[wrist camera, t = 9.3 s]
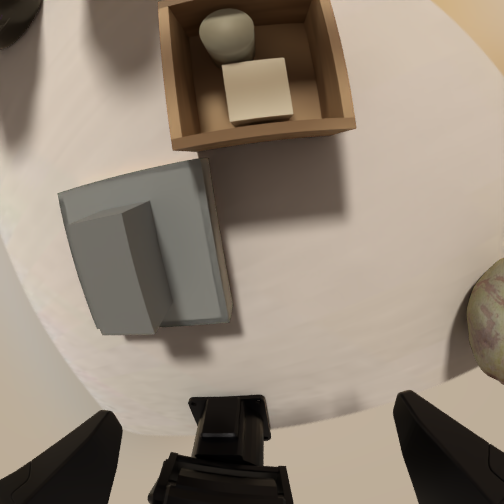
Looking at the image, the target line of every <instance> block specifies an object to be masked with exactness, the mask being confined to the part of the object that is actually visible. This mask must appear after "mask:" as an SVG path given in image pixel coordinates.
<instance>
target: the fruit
mask: <svg viewBox="0 0 504 504" xmlns="http://www.w3.org/2000/svg"><path fill="white" fill-rule="evenodd" d="M467 323H468V332H469V342H470V345H471V348H472V351H473V354H474V356H475V359H476V361H477V363H478V365H479V366H480V368H481V370H482V371H483V372H484V373H485V374H487V375H488V376H490V377H492V378H494V379H496V380H498V381H499V382H501V383H502V384H503V385H504V258H502V259H500V260H499V261H497V262H496V263H495V264H494V265H493V266H492V267H490V268H489V269H488V270H487V271H486V272H485V274H484V275H483V276H482V277H481V278H480V279H479V280H478V282H477V283H476V285H475V286H474V288H473V290H472V294H471V296H470V299H469V303H468V306H467Z"/></svg>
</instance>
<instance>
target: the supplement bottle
mask: <svg viewBox="0 0 504 504" xmlns="http://www.w3.org/2000/svg"><path fill="white" fill-rule="evenodd" d="M40 4H41V0H0V49H3V48H6V47H8V46H10V45H11V44H13V43H14V42H15V41H16V40H17V39H19V38H20V37H21V36H22V34H23V33H24V32H25V31H26V30H27V28H28V27H29V26H30V24H31V23H32V21H33V20H34V18H35V16H36V14H37V12H38V10H39V7H40Z"/></svg>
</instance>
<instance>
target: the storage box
mask: <svg viewBox="0 0 504 504" xmlns="http://www.w3.org/2000/svg"><path fill="white" fill-rule="evenodd" d="M158 17H159V32H160V45H161V57H162V68H163V78H164V87H165V96H166V104H167V112H168V120H169V128H170V135H171V142H172V149H173V151H191V152H199V151H205V150H210V149H216V148H223V147H229V146H236V145H242V144H250V143H257V142H265V141H274V140H283V139H293V138H305V137H317V136H331V135H334V134H338V133H341V132H345V131H349V130H352V129H356V122H355V115H354V108H353V102H352V96H351V90H350V84H349V79H348V74H347V68H346V63H345V59H344V54H343V49H342V45H341V41H340V36H339V32H338V28H337V24H336V20H335V17H334V13H333V9H332V6H331V2H330V0H163V1H160V2H158Z"/></svg>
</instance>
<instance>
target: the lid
mask: <svg viewBox="0 0 504 504" xmlns="http://www.w3.org/2000/svg"><path fill="white" fill-rule="evenodd" d="M58 199H59V204H60V208H61V213H62V218H63V222H64V226H65V231H66V235H67V239H68V242H69V246H70V250H71V254H72V257H73V261H74V264H75V267H76V271H77V274H78V277H79V280H80V283H81V286H82V289H83V292H84V295H85V298H86V301H87V304H88V306H89V309H90V312H91V315H92V317H93V320H94V322H95V325H96V327H97V329H100V331H101V333H102V335H151V334H155V333H156V331H157V330H158V328H159V327H173V326H190V325H205V324H218V323H229V322H230V317H231V312H232V306H233V302H232V297H231V292H230V286H229V281H228V275H227V270H226V264H225V258H224V252H223V247H222V241H221V235H220V229H219V223H218V217H217V211H216V205H215V199H214V192H213V186H212V180H211V173H210V167H209V160H208V158H198V159H193V160H187V161H182V162H177V163H172V164H167V165H163V166H158V167H153V168H149V169H145V170H140V171H136V172H132V173H128V174H124V175H120V176H116V177H112V178H108V179H105V180H101V181H97V182H94V183H90V184H87V185H83V186H80V187H76V188H73V189H70V190H67V191H63V192H60V193H58Z"/></svg>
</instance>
